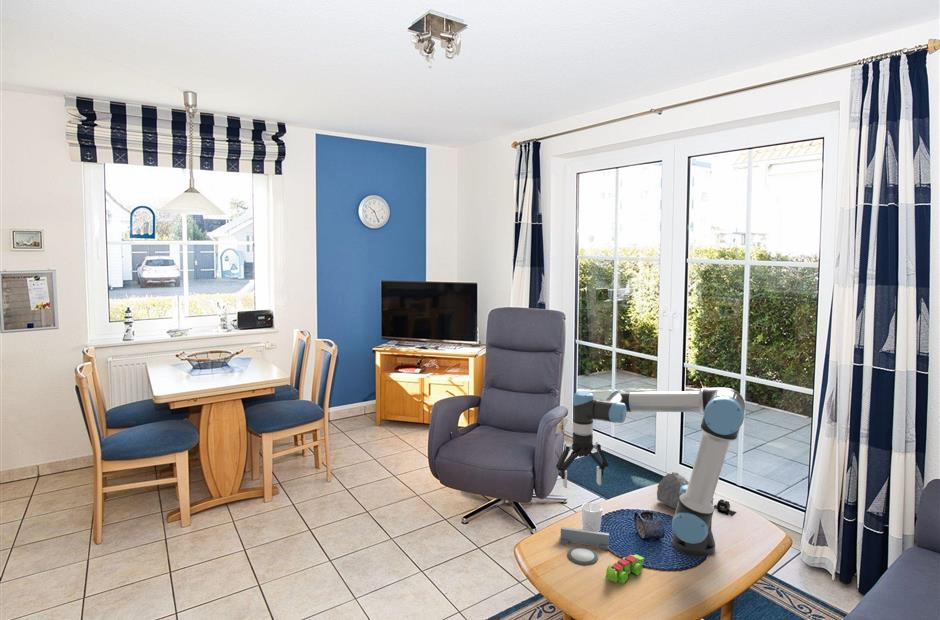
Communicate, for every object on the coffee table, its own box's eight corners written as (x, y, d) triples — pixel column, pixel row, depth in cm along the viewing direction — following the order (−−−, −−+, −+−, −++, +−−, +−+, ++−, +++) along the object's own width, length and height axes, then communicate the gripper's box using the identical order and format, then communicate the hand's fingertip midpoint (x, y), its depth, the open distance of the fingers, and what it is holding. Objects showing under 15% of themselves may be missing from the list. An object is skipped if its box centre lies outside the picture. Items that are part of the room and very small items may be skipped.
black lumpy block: (741, 514, 238) (742, 504, 237) (734, 520, 233) (735, 509, 232) (712, 504, 247) (712, 494, 246) (704, 509, 242) (705, 499, 241)
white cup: (601, 537, 219) (602, 512, 218) (581, 534, 221) (581, 511, 220) (601, 526, 227) (601, 503, 226) (581, 524, 229) (581, 501, 227)
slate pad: (598, 550, 210) (598, 548, 210) (597, 567, 200) (597, 565, 200) (568, 546, 213) (569, 544, 213) (565, 562, 203) (566, 560, 203)
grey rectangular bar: (608, 543, 215) (609, 530, 214) (608, 550, 210) (608, 537, 210) (561, 536, 220) (561, 524, 219) (560, 543, 215) (560, 531, 214)
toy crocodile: (633, 560, 204) (634, 544, 203) (649, 569, 199) (650, 553, 198) (598, 581, 192) (598, 564, 191) (614, 590, 187) (614, 573, 186)
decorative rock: (654, 501, 248) (656, 469, 246) (663, 497, 252) (665, 465, 250) (688, 516, 235) (690, 482, 233) (697, 511, 239) (699, 478, 237)
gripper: (610, 427, 220) (609, 478, 222) (548, 430, 216) (547, 483, 219) (617, 433, 212) (616, 487, 215) (553, 437, 209) (553, 492, 212)
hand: (581, 485), depth 217 cm, fingers open, 13 cm apart
